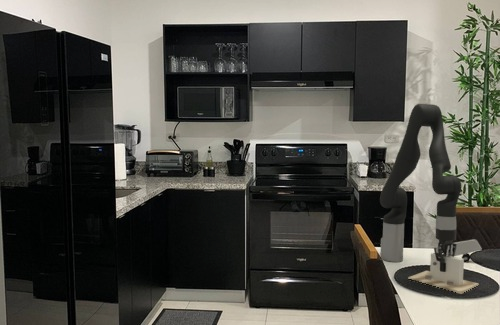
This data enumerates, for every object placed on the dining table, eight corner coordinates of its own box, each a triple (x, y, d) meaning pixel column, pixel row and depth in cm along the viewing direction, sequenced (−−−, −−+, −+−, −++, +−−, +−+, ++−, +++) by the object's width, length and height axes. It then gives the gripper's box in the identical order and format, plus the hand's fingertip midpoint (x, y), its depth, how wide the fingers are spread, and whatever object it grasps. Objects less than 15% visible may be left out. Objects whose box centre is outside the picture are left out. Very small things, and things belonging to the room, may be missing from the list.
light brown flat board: (408, 279, 202) (408, 273, 201) (426, 272, 211) (426, 267, 211) (461, 294, 185) (461, 287, 185) (478, 286, 194) (478, 279, 194)
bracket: (450, 265, 230) (484, 258, 223) (443, 245, 231) (476, 236, 224) (451, 263, 234) (485, 256, 226) (444, 243, 235) (477, 235, 228)
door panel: (428, 278, 200) (429, 254, 199) (433, 276, 202) (434, 252, 202) (458, 286, 191) (459, 260, 190) (462, 284, 193) (463, 258, 192)
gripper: (445, 223, 203) (445, 265, 204) (427, 228, 194) (426, 272, 195) (463, 226, 198) (463, 269, 199) (446, 231, 188) (445, 276, 190)
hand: (445, 270), depth 197 cm, fingers closed on door panel, 3 cm apart
